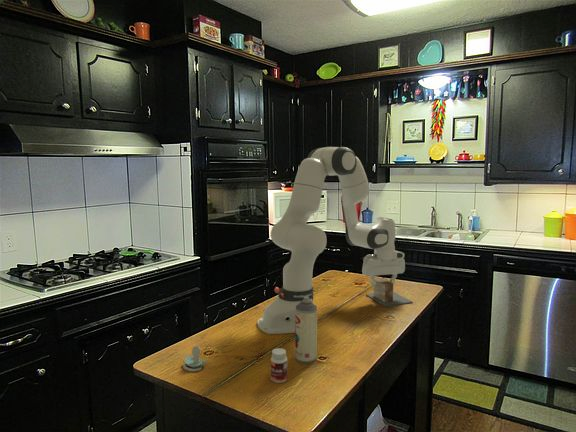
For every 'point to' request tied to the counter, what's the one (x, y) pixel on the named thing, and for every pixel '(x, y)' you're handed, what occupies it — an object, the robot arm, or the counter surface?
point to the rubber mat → (396, 301)
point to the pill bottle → (279, 365)
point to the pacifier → (194, 360)
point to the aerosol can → (306, 331)
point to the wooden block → (383, 290)
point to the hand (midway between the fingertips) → (382, 284)
